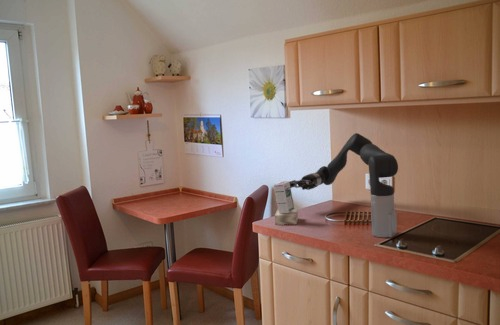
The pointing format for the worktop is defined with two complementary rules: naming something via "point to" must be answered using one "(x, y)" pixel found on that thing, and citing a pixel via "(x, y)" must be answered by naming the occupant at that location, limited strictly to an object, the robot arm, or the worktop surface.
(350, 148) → the robot arm
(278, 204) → the syrup box
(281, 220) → the ash block
